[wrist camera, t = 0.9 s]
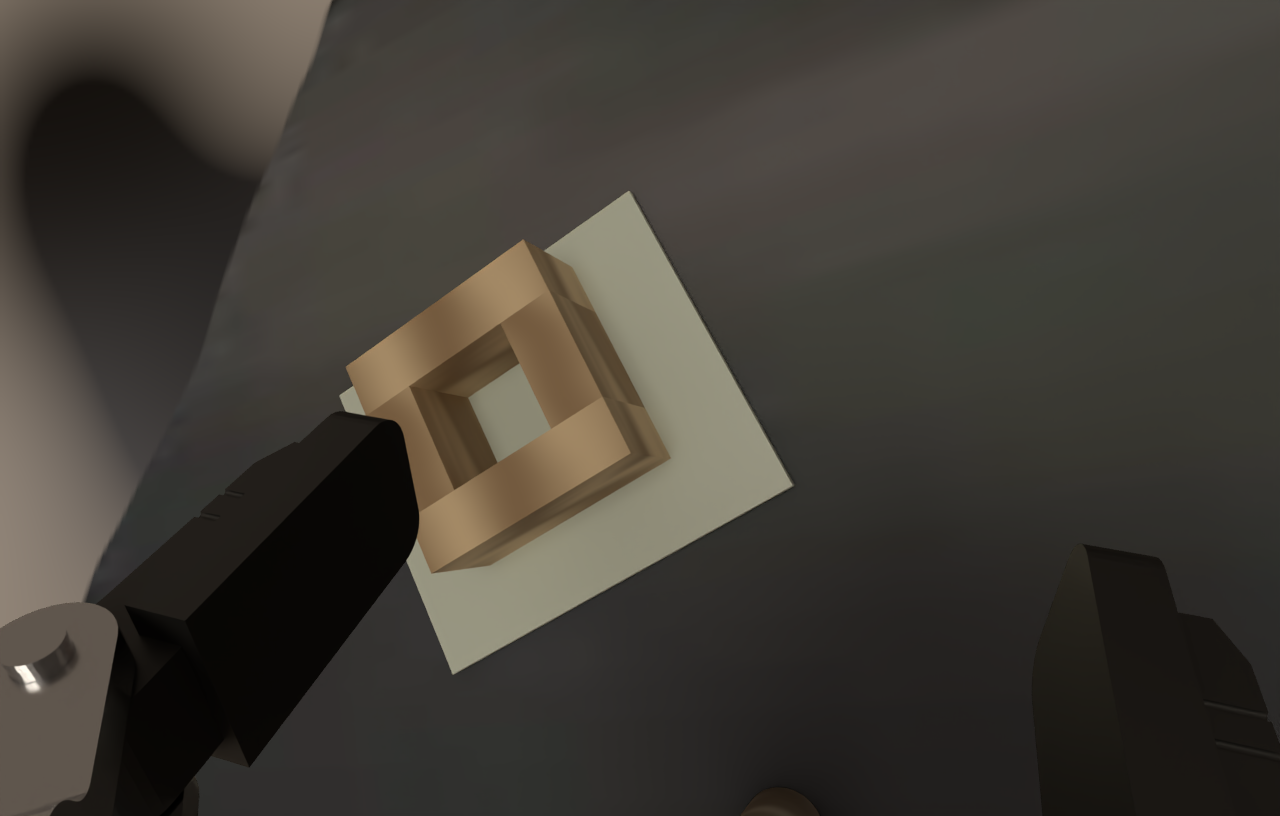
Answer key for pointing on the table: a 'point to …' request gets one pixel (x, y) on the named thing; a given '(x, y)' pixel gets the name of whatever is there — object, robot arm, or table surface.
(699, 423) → the mat
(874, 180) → the table surface
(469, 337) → the wooden square frame
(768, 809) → the peg
